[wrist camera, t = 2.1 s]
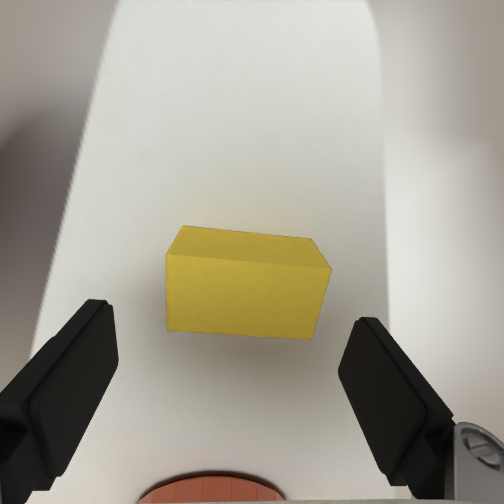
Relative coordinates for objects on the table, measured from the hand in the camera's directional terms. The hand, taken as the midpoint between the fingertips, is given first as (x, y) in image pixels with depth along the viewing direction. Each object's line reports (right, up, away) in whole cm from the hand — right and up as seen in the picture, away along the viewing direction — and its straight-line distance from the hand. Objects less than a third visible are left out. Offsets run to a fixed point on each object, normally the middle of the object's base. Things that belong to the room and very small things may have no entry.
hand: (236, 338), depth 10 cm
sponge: (0, +3, +5) cm, 5 cm away
